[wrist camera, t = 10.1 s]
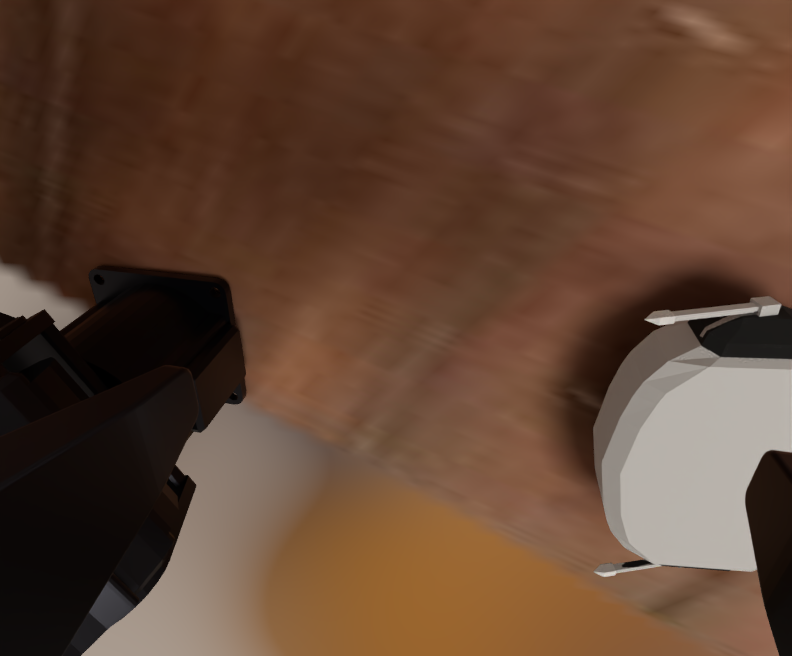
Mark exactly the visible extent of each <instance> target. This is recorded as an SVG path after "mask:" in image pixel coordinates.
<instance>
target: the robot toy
mask: <svg viewBox="0 0 792 656" xmlns="http://www.w3.org/2000/svg"><path fill="white" fill-rule="evenodd" d="M644 320H646V321H648V322H651V323H654V324H656V325H666V326H664V327H661V328H659V329H657V330H654V331H653V332H652V333H650V334H649V335H648V336H647V337H646V338H645V339H644V340H643V341H642V342H640V343H639V344H638V345H637V346H636V347H635V348H634V349H633V350H631V352H630V353H629V354H628V356H627V357H626V358H625V360H624V361H623V362H622V364H621V366H620V367H619V369H618V371H617V373H616V375H615V376H614V378H613V380H612V382H611V384H610V385H609V388H608V391H607V393H606V396H605V398H604V401H603V404H602V406H601V409H600V411H599V414H598V417H597V419H596V422H595V425H594V427H593V439H594V462H595V471H596V476H597V480H598V485H599V489H600V493H601V497H602V502H603V506H604V510H605V515H606V519H607V523H608V525H609V527H610V530H611V532H612V533H613V534H614V536H615V537H616V538H617V539H618V540H619V542H620V543H621V544H622V545H623V546H624V548H626V549H628V550H630V551H632V552H633V553H635V554H637V555H639V556H640V557H642V558H644V559H645V560H638V561H632V562H625V563H619V564H612V563H606V564H600V565H599V566H598V568H597V569H596V570H595V571H594V573H596V574H599V575H601V576H603V577H607V576H613V575H615V574H616V573H620V572H627V571H633V570H640V569H646V568H653V567H659V566H671V567H679V568H680V567H684V568H697V569H710V570H723V571H730V570H738V571H751V572H752V571H754V570H757V566H756V561H755V556H754V550H753V545H752V539H751V534H750V529H749V523H748V518H747V513H746V507H745V494H746V490H747V487H748V485H749V483H750V481H751V479H752V477H753V474H754V472H755V470H756V468H757V466H758V464H759V462H760V460H761V458H762V456H763V454H764V453H765V452H767V451H769V450H778V451H785V452H792V309H790V308H788V307H785V306H782V305H781V303H779V302H778V301H776V300H775V299H773V298H771V297H770V296H765V297H756V298H751V299H750V302H749V303H744V304H732V305H726V306H717V307H708V308H699V309H690V310H681V311H672V312H671V311H669V310H662V311H653V312H652V313H651V314H650V315H649V316H648V317H647V318H646V319H644ZM675 321H676V322H675ZM667 324H668V325H667Z"/></svg>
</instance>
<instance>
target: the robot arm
mask: <svg viewBox="0 0 792 656" xmlns="http://www.w3.org/2000/svg"><path fill="white" fill-rule="evenodd" d="M100 275H101V276H102V277H103V279H104V280H103V279H102V278H101V277H100ZM89 280H90V283H91V287H92V290H93V293H94V297H95V300H96V305H95V306H93V307H92V308H91V309H89V310H88V311H87V312H85V313H84V314H82V315H81V316H80V317H78V318H77V319H76V320H74V321H73V322H71V323H70V324H69V325H67V326H66V327H65V328H63V329H62V330H61V331H59V330H58V329H57V328H56V327H55V325H54V324H53V323H54V322H55V321H54V320H53V319H52V318H51V316H50V315H49V314H48V313H47V312H46V311H45V309H44V310H42V311H40V312H39V313H37V314H35V315H33V316H31V317H30V318H28V319H26V318H25V317H24V316H21V317H17V318H14V317H11V316H9V315H6V314H3V313H1V312H0V656H81V655H82V654H83V653H84V652H85V651H86V650H87V649H88V648H89V647H90V646H91V645H92V644H93V643H94V642H95V641H96V640H97V639H98V638H99V637H100V636H101V635H102V634H103V633H104V632H105V631H106V630H107V629H108V628H110V627H111V626H112V625H114V624H115V623H116V622H118V621H119V620H121V619H122V618H123V617H125V616H126V615H127V614H128V613H129V612H130V611H132V610H133V609H134V608H135V607H136V606H137V605H138V604H139V603H140V602H141V601H142V600H143V599H144V598H145V597H146V596H147V595H148V594H149V592H150V591H151V590H152V589H153V587H154V586H155V585H156V583H157V582H158V581H159V579H160V578H161V576H162V574H163V573H164V571H165V570H166V567H167V565H168V562H169V561H170V558H171V555H172V553H173V550H174V547H175V544H176V542H177V539H178V536H179V533H180V530H181V527H182V525H183V522H184V519H185V516H186V514H187V511H188V508H189V505H190V502H191V500H192V497H193V494H194V491H195V488H196V484H195V483H194V482H193V481H192V479H191V478H190V477H189V476H188V475H184V474H183V473H182V472H181V471H180V469H179V468H178V467H177V466H176V465H175V464H176V462H177V460H178V457H179V455H180V453H181V451H182V449H183V447H184V445H185V443H186V441H187V440H188V438H189V437H190V436H191V434H192V433H193V432H200V433H201V432H202V431H203V430H205V429H206V428H207V427H208V425H209V424H210V422H211V421H212V420H213V418H214V417H215V416H216V414H217V413H218V412H219V410H220V409H221V407H222V406H223V405H224V404H225V403H229V404H240V403H241V402H242V401H243V399H244V398H245V396H246V387H245V381H244V377H245V375H246V370H245V364H244V357H243V351H242V344H241V338H240V331H239V329H238V328H237V326H236V324H235V317H234V311H233V304H232V298H231V292H230V288H229V285H228V284H227V283H226V282H225V281H224V280H222V279H219V278H212V277H203V276H194V275H185V274H175V273H166V272H157V271H148V270H139V269H129V268H120V267H111V266H97V267H96V268H94V269H93V270H91V271H90V272H89ZM214 287H215V288H217V289H218V290H219V291H220V293H221V294H219V293H217V292H216V291H215V290H214ZM233 392H234V393H236V394H237V395H235V394H234V393H233ZM745 507H746V513H747V518H748V523H749V529H750V534H751V539H752V545H753V550H754V556H755V561H756V566H757V572H758V577H759V582H760V588H761V593H762V597H763V602H764V606H765V610H766V613H767V617H768V620H769V624H770V627H771V630H772V634H773V637H774V640H775V643H776V646H777V650H778V653H779V656H792V452H785V451H778V450H769V451H767V452H765V453H764V454H763V456H762V458H761V460H760V462H759V464H758V466H757V468H756V470H755V472H754V474H753V477H752V479H751V481H750V483H749V485H748V487H747V490H746V494H745Z"/></svg>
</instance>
